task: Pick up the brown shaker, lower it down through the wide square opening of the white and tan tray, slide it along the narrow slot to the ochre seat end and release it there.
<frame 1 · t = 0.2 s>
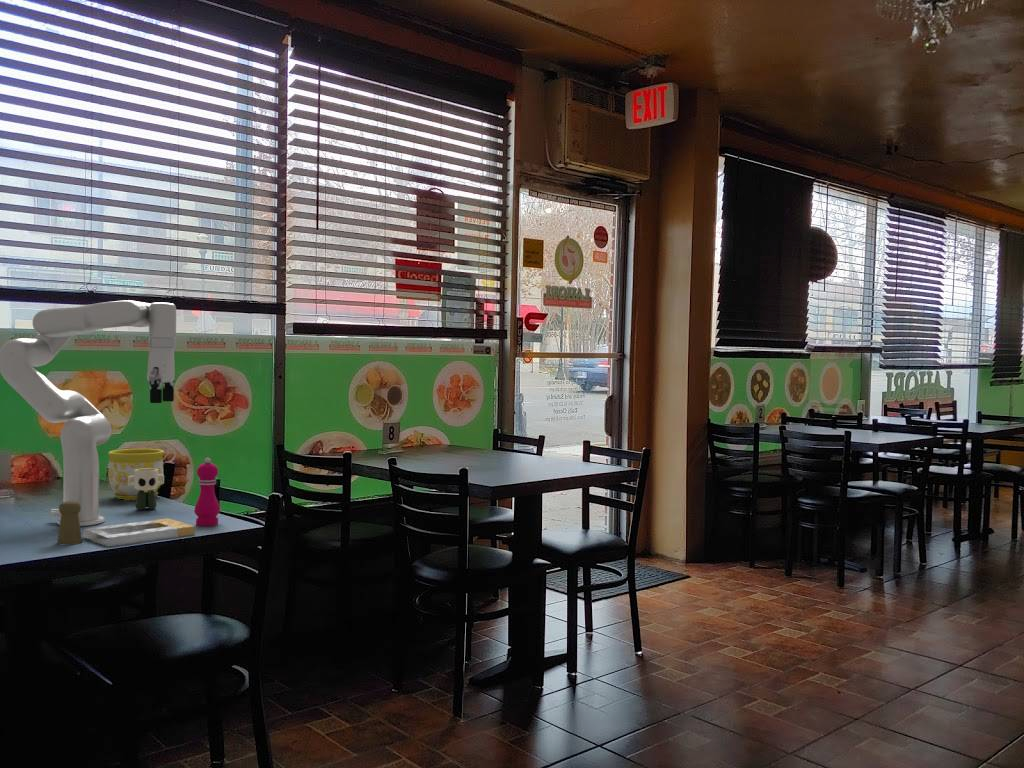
hand: (162, 402, 261), 36 cm above the table, tool pointing down, fingers open, 9 cm apart
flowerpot: (136, 498, 309), on the table
pepper mill: (207, 525, 263), on the table
white and tan tray: (139, 536, 245), on the table
brown shaker: (69, 543, 235), on the table
character mug: (145, 510, 286), on the table
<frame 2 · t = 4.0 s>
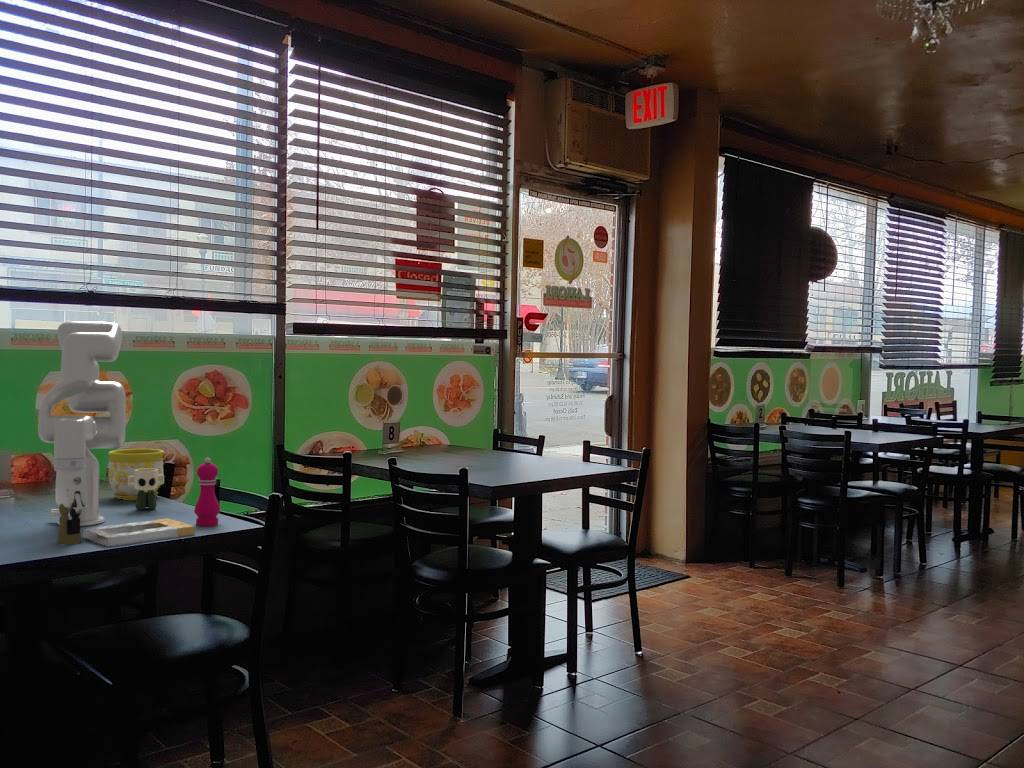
hand: (69, 531, 235), 3 cm above the table, tool pointing down, fingers closed on brown shaker, 4 cm apart
brown shaker: (69, 543, 235), on the table, touching gripper
everything else where it was.
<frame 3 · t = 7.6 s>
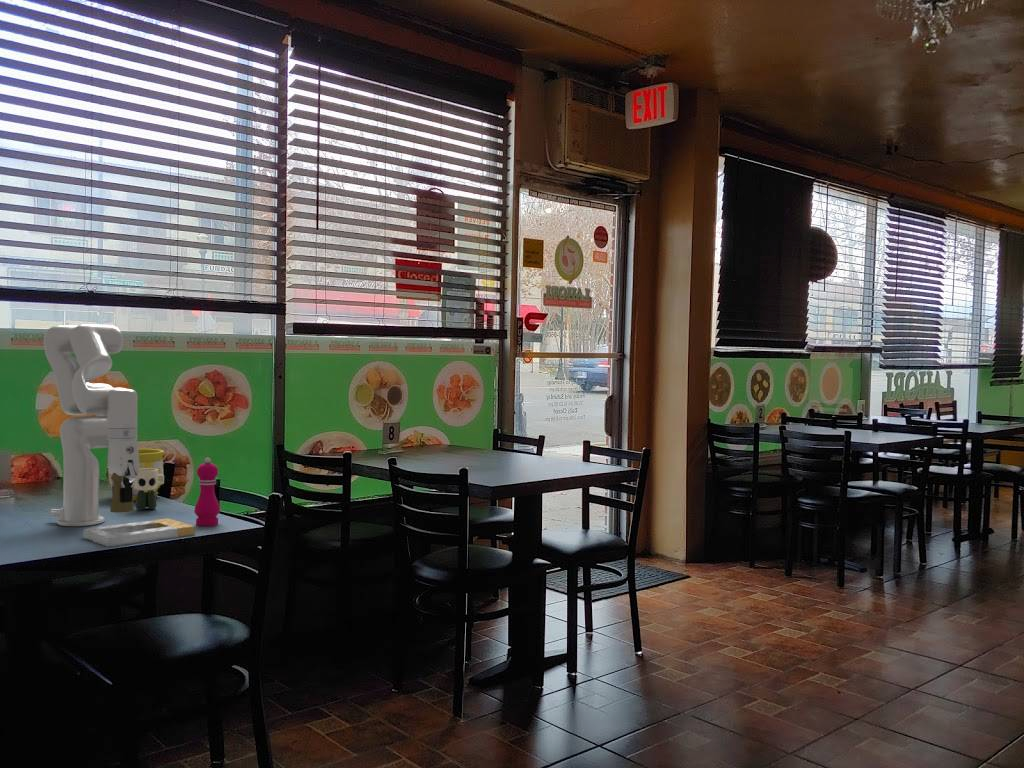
hand: (122, 500, 241), 11 cm above the table, tool pointing down, fingers closed on brown shaker, 4 cm apart
brown shaker: (122, 511, 241), point 8 cm above the table, touching gripper
everything else where it was.
when the fingers open (4 cm above the table, at t = 11.3 s): brown shaker stays where it is, resting in white and tan tray.
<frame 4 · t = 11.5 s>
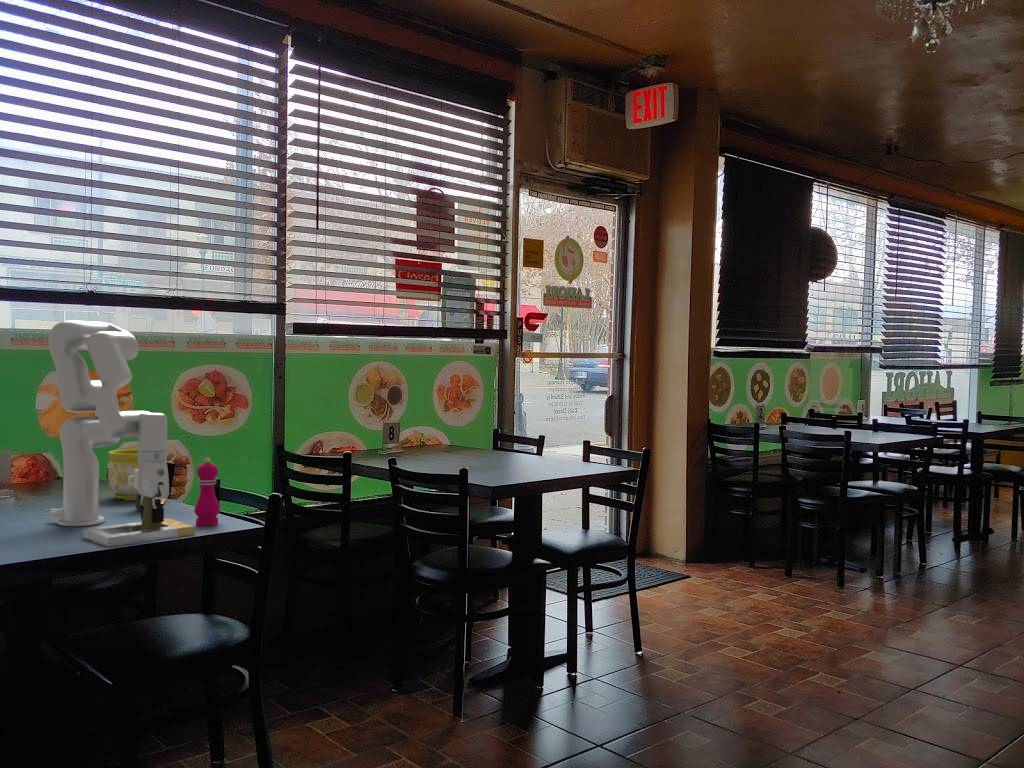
hand: (152, 520, 247), 4 cm above the table, tool pointing down, fingers open, 6 cm apart
brown shaker: (151, 535, 247), resting in white and tan tray
everything else where it was.
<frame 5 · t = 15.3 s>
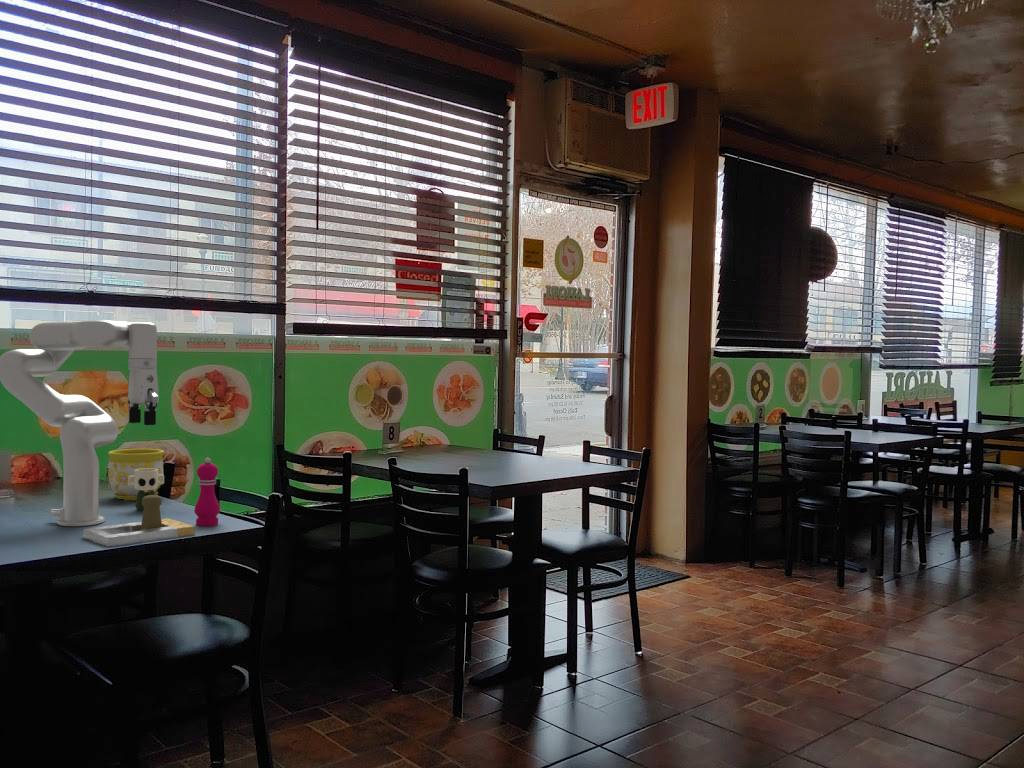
hand: (142, 423, 256), 30 cm above the table, tool pointing down, fingers open, 9 cm apart
nothing on the table moved.
at the end: brown shaker 0.2 cm from the target spot, resting in white and tan tray; brown shaker tilted 0°; the gripper is holding nothing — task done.
